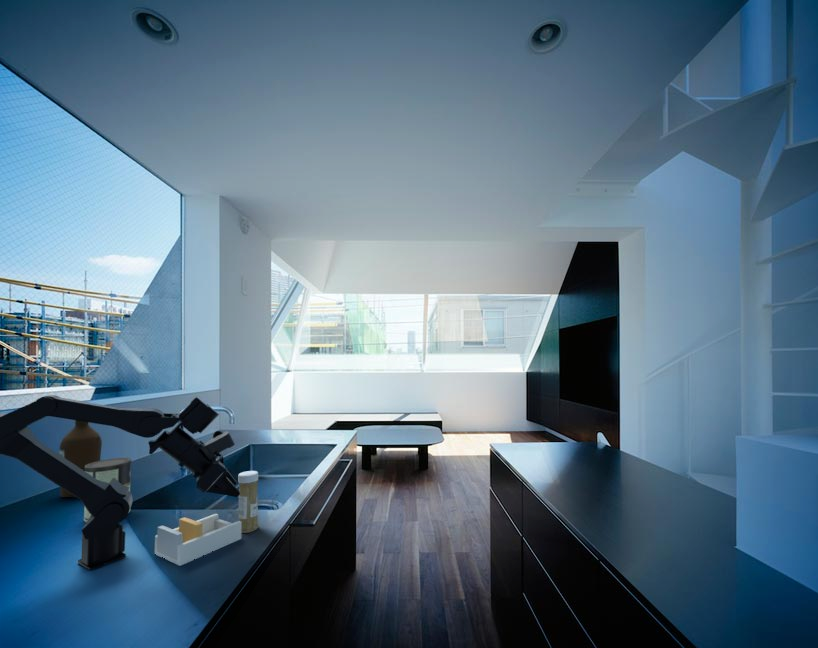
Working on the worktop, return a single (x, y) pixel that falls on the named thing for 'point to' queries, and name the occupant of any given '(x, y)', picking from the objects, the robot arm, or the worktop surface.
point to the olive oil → (80, 448)
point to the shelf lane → (196, 540)
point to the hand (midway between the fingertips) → (237, 489)
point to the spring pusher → (189, 529)
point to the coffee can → (109, 473)
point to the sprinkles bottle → (248, 501)
